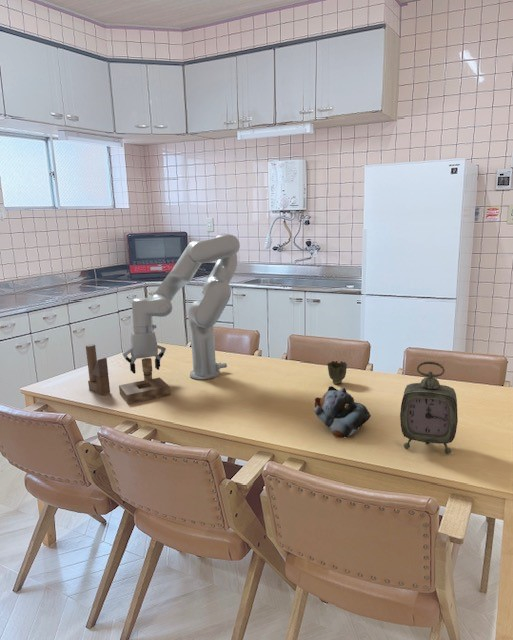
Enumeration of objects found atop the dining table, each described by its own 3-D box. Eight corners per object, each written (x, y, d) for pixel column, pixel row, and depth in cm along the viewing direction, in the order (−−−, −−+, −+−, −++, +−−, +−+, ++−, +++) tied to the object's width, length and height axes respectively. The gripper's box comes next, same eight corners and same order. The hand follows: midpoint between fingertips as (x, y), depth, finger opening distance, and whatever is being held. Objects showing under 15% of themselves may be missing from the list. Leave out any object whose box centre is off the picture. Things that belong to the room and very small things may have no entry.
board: (160, 385, 194) (159, 377, 193) (170, 394, 183) (169, 386, 183) (119, 394, 186) (118, 385, 186) (127, 404, 176) (126, 394, 175)
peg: (151, 380, 200) (149, 357, 198) (154, 383, 197) (152, 359, 195) (142, 382, 198) (140, 358, 196) (145, 385, 195) (143, 361, 193)
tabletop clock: (399, 450, 135) (401, 364, 130) (401, 436, 143) (404, 354, 138) (455, 458, 130) (460, 368, 124) (455, 443, 138) (459, 358, 133)
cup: (325, 385, 187) (325, 365, 185) (330, 379, 194) (329, 360, 192) (344, 387, 184) (344, 367, 183) (348, 381, 191) (348, 361, 189)
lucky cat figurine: (343, 442, 141) (320, 400, 141) (322, 442, 151) (301, 403, 152) (379, 416, 147) (356, 375, 147) (356, 417, 158) (335, 380, 158)
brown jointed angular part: (102, 395, 186) (96, 350, 182) (88, 389, 193) (83, 345, 189) (110, 392, 188) (105, 347, 184) (97, 386, 196) (92, 343, 192)
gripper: (161, 325, 200) (163, 365, 203) (118, 329, 192) (121, 371, 195) (167, 328, 193) (169, 369, 197) (123, 333, 185) (126, 376, 189)
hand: (145, 370), depth 196 cm, fingers open, 9 cm apart
